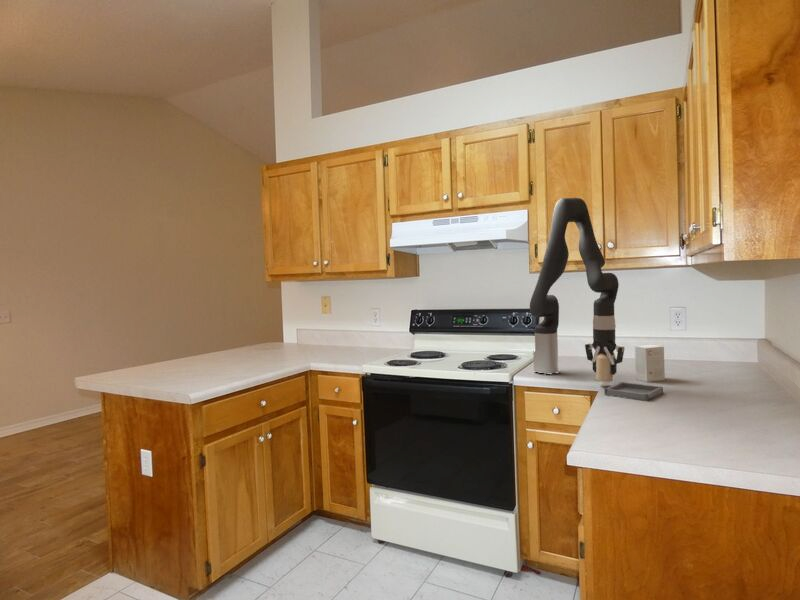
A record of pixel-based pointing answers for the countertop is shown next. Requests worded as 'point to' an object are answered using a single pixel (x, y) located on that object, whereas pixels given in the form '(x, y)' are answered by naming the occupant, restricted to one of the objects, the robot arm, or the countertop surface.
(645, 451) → the countertop surface
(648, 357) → the small box
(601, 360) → the candle
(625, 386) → the rest tray
